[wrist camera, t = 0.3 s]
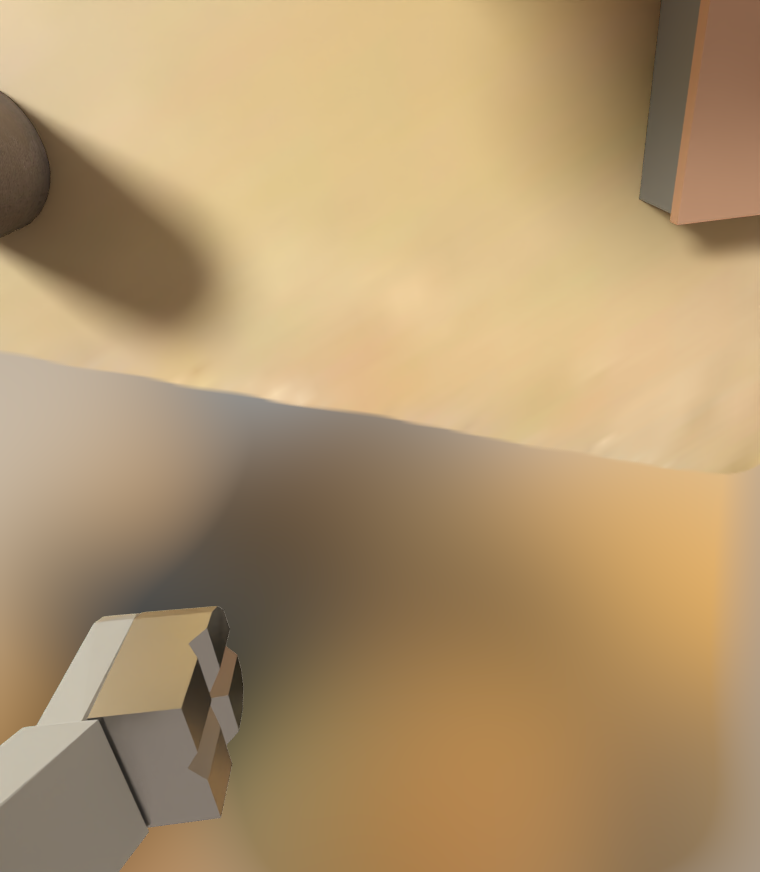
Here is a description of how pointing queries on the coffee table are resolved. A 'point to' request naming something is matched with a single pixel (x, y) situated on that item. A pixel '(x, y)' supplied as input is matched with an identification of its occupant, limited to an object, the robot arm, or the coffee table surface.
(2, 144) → the pillar candle
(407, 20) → the coffee table surface
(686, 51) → the storage box
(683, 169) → the lid
